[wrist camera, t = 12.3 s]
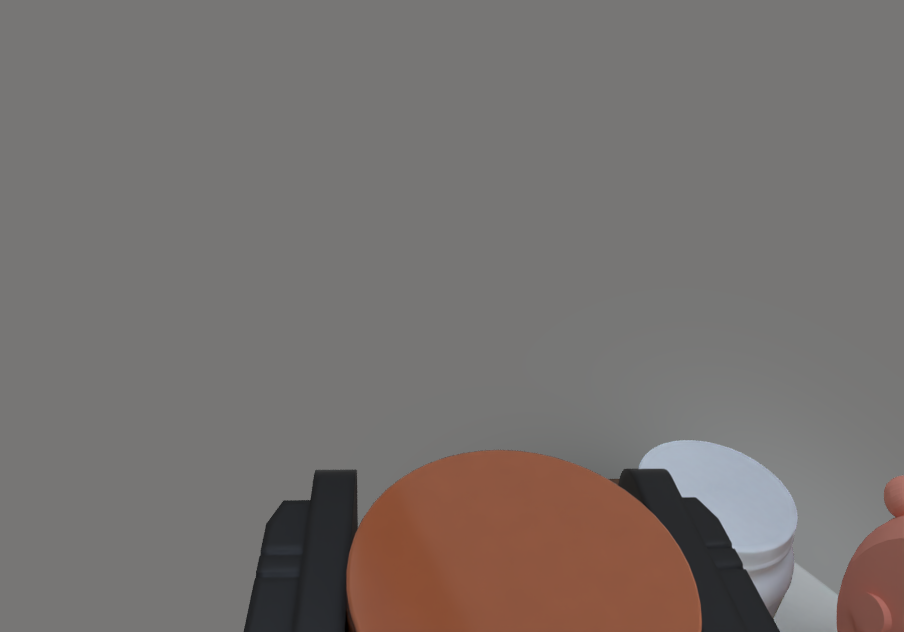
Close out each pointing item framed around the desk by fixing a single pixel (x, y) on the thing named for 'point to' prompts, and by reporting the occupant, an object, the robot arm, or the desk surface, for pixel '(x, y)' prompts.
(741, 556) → the supplement tub
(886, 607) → the teapot
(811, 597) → the desk surface
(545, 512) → the copper brown cylinder
